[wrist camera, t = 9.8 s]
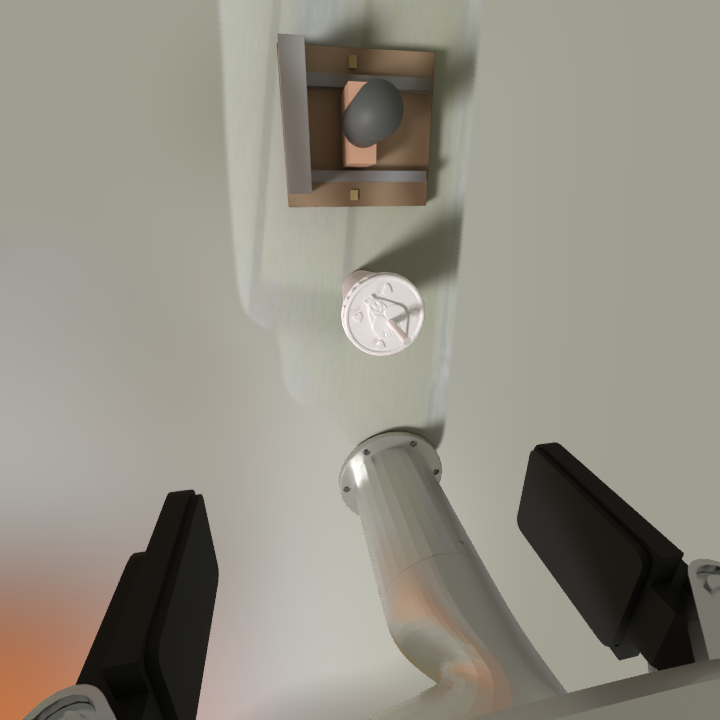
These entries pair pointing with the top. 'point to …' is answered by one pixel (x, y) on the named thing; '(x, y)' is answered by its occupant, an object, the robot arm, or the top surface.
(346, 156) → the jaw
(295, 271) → the top surface
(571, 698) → the robot arm
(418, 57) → the vise base
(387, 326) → the smoothie
